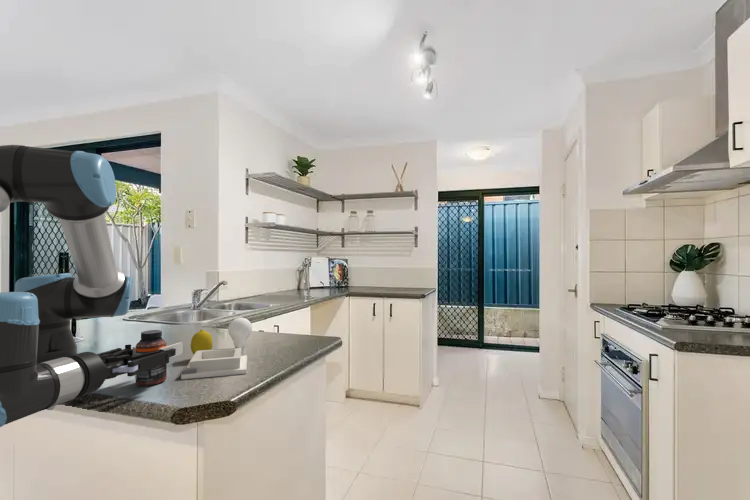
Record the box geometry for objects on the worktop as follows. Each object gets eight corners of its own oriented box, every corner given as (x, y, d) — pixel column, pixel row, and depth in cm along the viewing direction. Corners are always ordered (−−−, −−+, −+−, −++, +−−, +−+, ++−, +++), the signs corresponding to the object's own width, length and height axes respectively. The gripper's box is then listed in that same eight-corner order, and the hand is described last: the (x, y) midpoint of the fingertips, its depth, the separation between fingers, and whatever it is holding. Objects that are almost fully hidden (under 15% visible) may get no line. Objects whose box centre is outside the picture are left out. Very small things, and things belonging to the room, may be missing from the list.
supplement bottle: (152, 376, 84) (153, 328, 85) (172, 379, 82) (173, 329, 83) (128, 385, 79) (129, 332, 79) (148, 388, 77) (150, 334, 77)
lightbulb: (243, 360, 99) (244, 319, 99) (222, 358, 100) (223, 319, 100) (255, 354, 105) (256, 316, 105) (236, 353, 106) (236, 315, 106)
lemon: (195, 356, 103) (195, 328, 103) (215, 355, 103) (215, 327, 103) (186, 361, 97) (187, 331, 97) (208, 361, 98) (208, 331, 98)
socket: (191, 363, 96) (191, 349, 96) (247, 358, 100) (247, 346, 100) (181, 379, 82) (181, 364, 82) (246, 373, 87) (246, 358, 87)
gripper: (25, 395, 65) (134, 361, 88) (113, 404, 61) (204, 365, 84) (27, 353, 65) (135, 329, 88) (114, 359, 61) (204, 333, 84)
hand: (168, 347), depth 86 cm, fingers closed on supplement bottle, 6 cm apart
